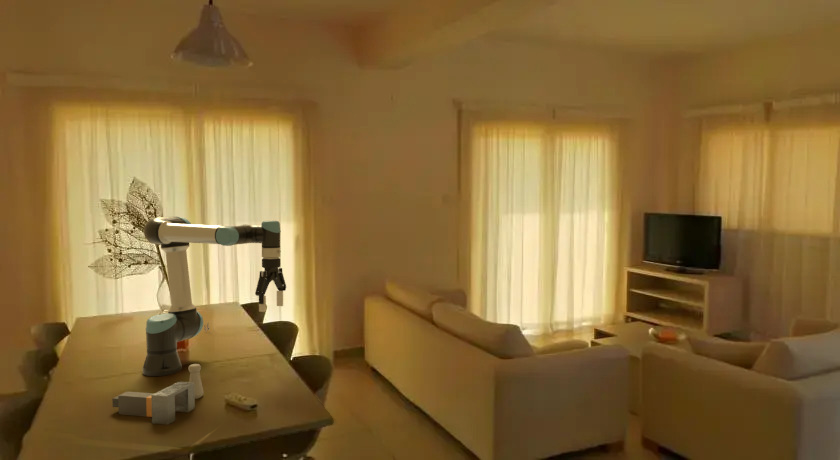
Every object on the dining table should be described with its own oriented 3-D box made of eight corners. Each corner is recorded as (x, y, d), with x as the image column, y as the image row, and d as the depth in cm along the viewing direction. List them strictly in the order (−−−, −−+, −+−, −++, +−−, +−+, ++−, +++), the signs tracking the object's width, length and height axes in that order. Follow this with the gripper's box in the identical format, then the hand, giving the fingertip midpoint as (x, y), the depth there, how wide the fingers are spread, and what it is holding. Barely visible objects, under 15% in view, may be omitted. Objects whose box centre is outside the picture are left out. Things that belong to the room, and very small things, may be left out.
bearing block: (152, 423, 198) (151, 394, 198) (179, 407, 213) (179, 381, 213) (168, 424, 197) (167, 396, 197) (194, 409, 212) (194, 382, 211)
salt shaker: (189, 396, 225) (188, 362, 224) (205, 396, 225) (204, 362, 225) (184, 402, 219) (184, 366, 218) (201, 401, 220) (200, 366, 219)
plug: (111, 413, 208) (110, 394, 208) (120, 408, 212) (119, 390, 212) (154, 417, 204) (153, 398, 204) (162, 412, 209) (162, 394, 208)
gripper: (262, 261, 236) (262, 314, 237) (294, 255, 260) (294, 304, 261) (245, 260, 238) (246, 313, 239) (278, 254, 262) (279, 303, 263)
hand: (271, 308), depth 250 cm, fingers open, 13 cm apart
